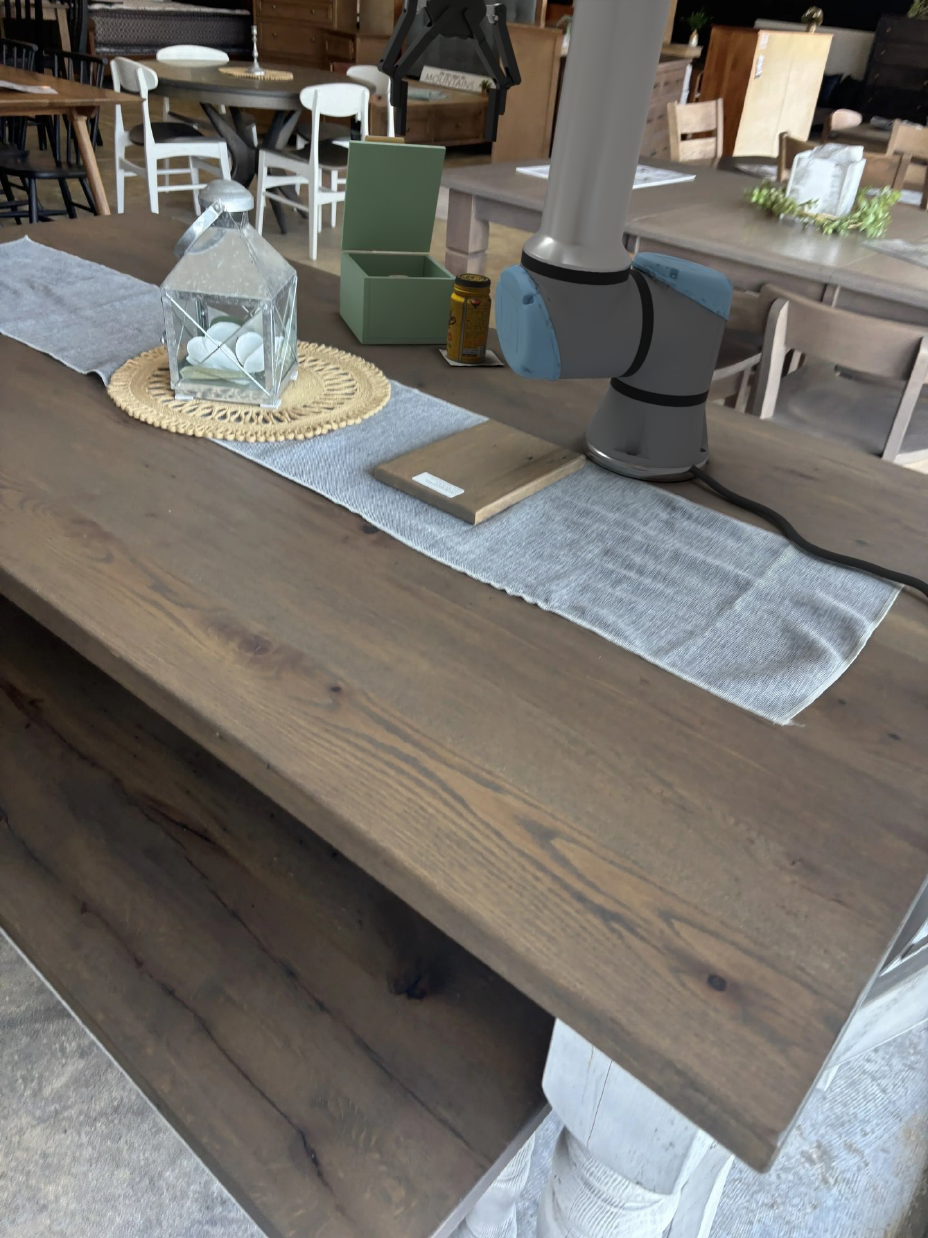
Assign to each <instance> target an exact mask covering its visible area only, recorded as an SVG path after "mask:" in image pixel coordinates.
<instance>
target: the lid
mask: <svg viewBox="0 0 928 1238" xmlns="http://www.w3.org/2000/svg"><path fill="white" fill-rule="evenodd" d="M446 151H447V148H446V146H443V145H442V146H441V145H429V144H428V145H427V144H411V143H405V138H404V137H398V136H385V135H383V136H382V135H369V134H368V135H367V134H366V135H365V136H364V140H354V139H353V140H352V139H349V140H348V150H347V165H346V175H345V187H344V201H343V213H342V224H341V238H340V250H341V251H357V252H358V251H361V252H362V251H363V252H364V251H365V252H401V253H430V251H431V247H432V246H431V245H432V239H433V232H434V226H435V220H436V214H437V207H438V202H439V201H438V200H439V194H440V189H441V181H442V176H443V169H444V163H445V157H446Z"/></svg>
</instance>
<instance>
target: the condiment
mask: <svg viewBox="0 0 928 1238" xmlns="http://www.w3.org/2000/svg"><path fill="white" fill-rule="evenodd" d="M455 277H456V278H455V287H454V290H455V291H454V293H453V294H452V295H451V301H450V303H451V304H450V315H449V326H448V337H447V344H446V349H438V350H439V352H440V353H441V355H442V357H443V358H444V359H445V360H446V361H447V362H448V364H449V365H450V366H459V367H460V366H462V367H463V366H466V367H467V366H468V367H472V366H473V367H474V366H475V367H476V366H498V365H499V366H505V363H503V362H502V361H501V360H500V359H499V358H498V357H497V356H496V354H495V353H494V352H493V351H492V349H487V347H488V337H489V329H490V327H489V326H490V318H491V311H492V310H491V309H492V297H491V296H490V293H491V285H492V281H491V278H489V277H488V276H486V275H482V274H478V273H471V272H467V273H466V272H465V273H459V274H457V275H456V276H455Z"/></svg>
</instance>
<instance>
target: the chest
mask: <svg viewBox="0 0 928 1238" xmlns="http://www.w3.org/2000/svg"><path fill="white" fill-rule="evenodd" d="M390 275H404V276H408V277H388V276H390ZM339 277H340V279H339V281H340V282H339V284H340V285H339V315H340V317H341V318H342V320H343V321H344V323H345V324H346V325H347V326H348V328H349V329H350V330H351V331H352V333H353V335H354V336H355V337H356V338H357V340H358V342H359V343H360V344H361V345H447V337H448V326H449V315H450V304H451V303H450V301H451V295H452V294H453V293H454V291H455V290H454V287H455V278H456V276H455V275H454V274H453V273H451V272H450V271H449V270H448V269H447V268H445V267H444V266H443V265H442V264H441V263H440V262H438V261H437V260H436V259H435V258H434V257H432V256H431V255H430V254H428V253H424V254H423V253H391V252H358V251H357V252H354V251H353V252H350V251H341V252H340V275H339Z"/></svg>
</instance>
